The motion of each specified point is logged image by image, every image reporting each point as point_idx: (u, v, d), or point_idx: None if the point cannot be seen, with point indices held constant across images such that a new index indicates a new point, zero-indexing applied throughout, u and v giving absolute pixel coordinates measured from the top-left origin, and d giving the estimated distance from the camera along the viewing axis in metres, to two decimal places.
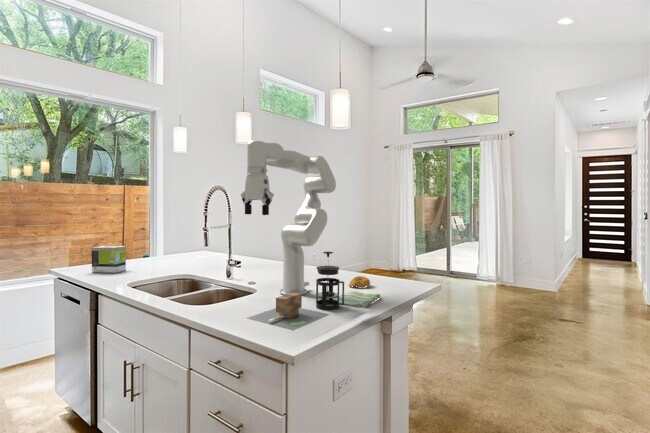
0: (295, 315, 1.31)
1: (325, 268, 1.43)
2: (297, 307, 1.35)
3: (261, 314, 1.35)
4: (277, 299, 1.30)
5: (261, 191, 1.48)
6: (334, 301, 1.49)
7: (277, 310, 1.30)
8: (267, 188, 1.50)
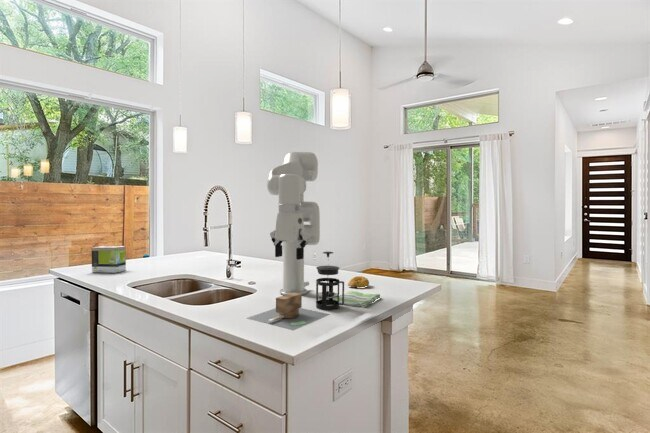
0: (295, 315, 1.31)
1: (325, 268, 1.43)
2: (297, 307, 1.35)
3: (261, 314, 1.35)
4: (277, 299, 1.30)
5: (295, 232, 1.28)
6: (334, 301, 1.49)
7: (277, 310, 1.30)
8: (302, 228, 1.30)
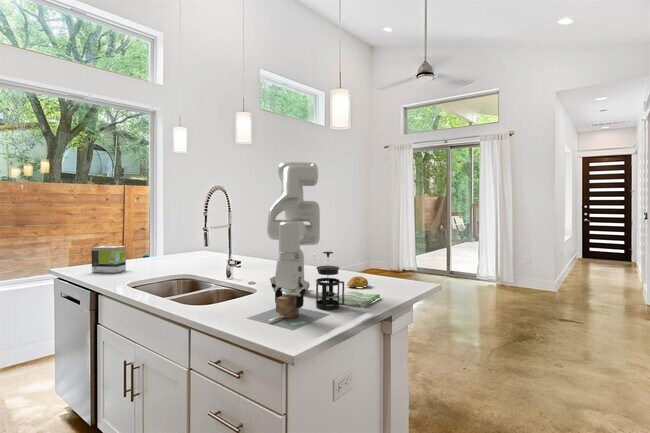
0: (295, 315, 1.31)
1: (325, 268, 1.43)
2: None
3: (261, 314, 1.35)
4: (277, 299, 1.30)
5: (295, 281, 1.29)
6: (334, 301, 1.49)
7: (277, 310, 1.30)
8: (301, 276, 1.31)
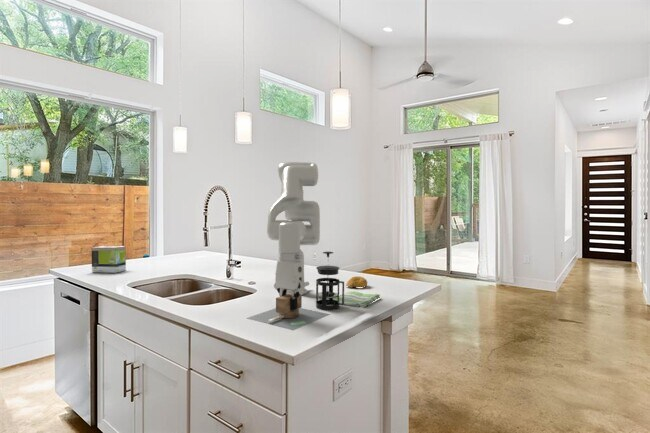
0: (295, 315, 1.31)
1: (325, 268, 1.43)
2: (297, 307, 1.35)
3: (261, 314, 1.35)
4: (277, 299, 1.30)
5: (295, 281, 1.29)
6: (334, 301, 1.49)
7: (277, 310, 1.30)
8: (301, 276, 1.31)
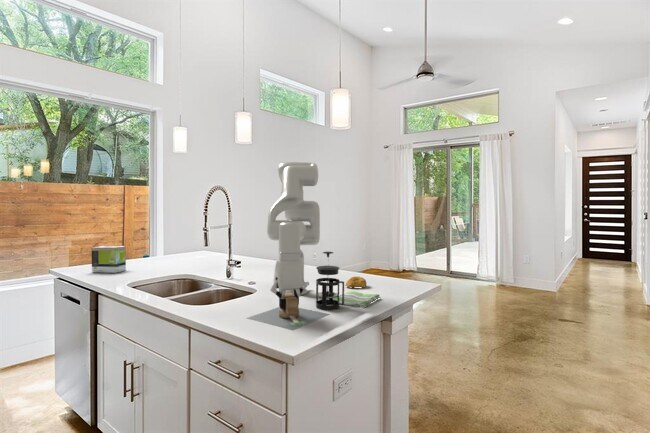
0: None
1: (325, 268, 1.43)
2: None
3: (261, 314, 1.35)
4: (290, 300, 1.28)
5: (303, 278, 1.34)
6: (334, 301, 1.49)
7: (290, 311, 1.29)
8: None
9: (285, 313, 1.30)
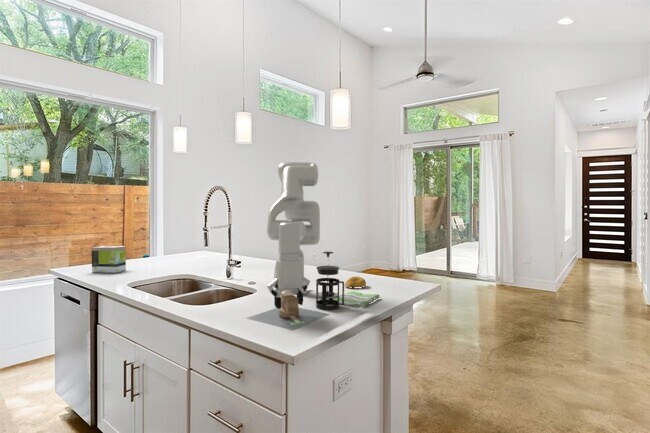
0: None
1: (325, 268, 1.43)
2: None
3: (261, 314, 1.35)
4: (290, 300, 1.29)
5: (303, 278, 1.34)
6: (334, 301, 1.49)
7: (290, 311, 1.29)
8: None
9: (285, 313, 1.30)
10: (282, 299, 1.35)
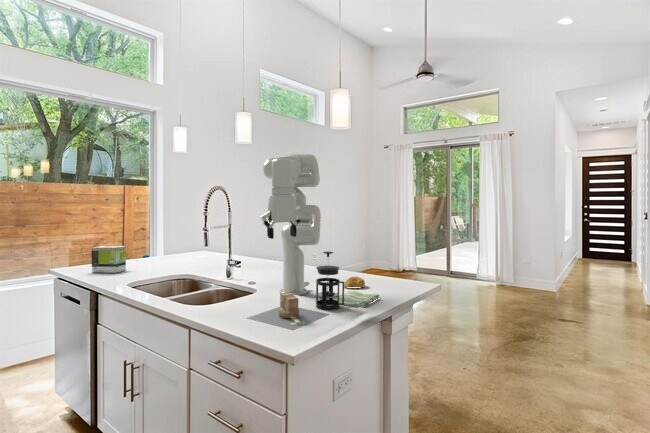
0: None
1: (325, 268, 1.43)
2: None
3: (261, 314, 1.35)
4: (290, 300, 1.29)
5: (295, 212, 1.43)
6: (334, 301, 1.49)
7: (290, 311, 1.29)
8: None
9: (285, 313, 1.30)
10: (282, 299, 1.35)
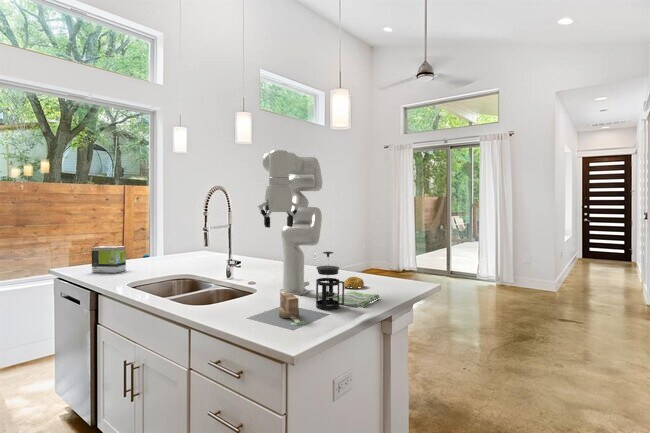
0: None
1: (325, 268, 1.43)
2: None
3: (261, 314, 1.35)
4: (290, 300, 1.29)
5: (291, 203, 1.46)
6: (334, 301, 1.49)
7: (290, 311, 1.29)
8: None
9: (285, 313, 1.30)
10: (282, 299, 1.35)
